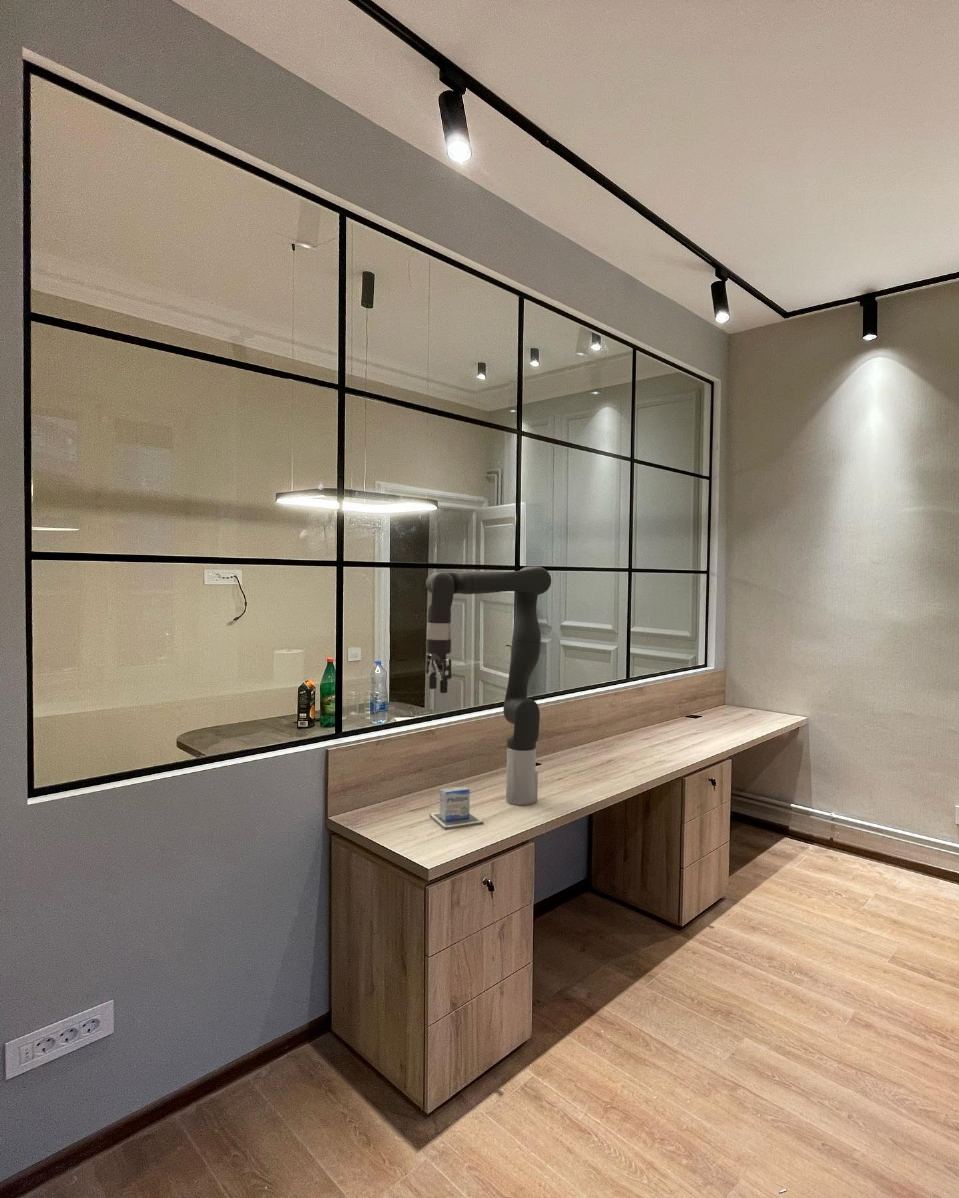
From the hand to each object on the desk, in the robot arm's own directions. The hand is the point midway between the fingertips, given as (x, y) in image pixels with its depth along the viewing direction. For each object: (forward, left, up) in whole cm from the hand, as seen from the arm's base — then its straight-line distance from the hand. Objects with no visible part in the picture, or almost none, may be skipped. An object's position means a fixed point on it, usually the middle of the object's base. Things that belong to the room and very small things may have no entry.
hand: (438, 690), depth 208 cm
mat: (-2, +11, -37) cm, 38 cm away
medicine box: (-2, +10, -36) cm, 38 cm away
